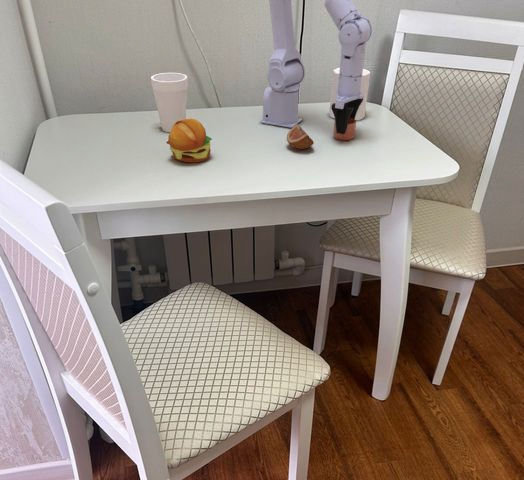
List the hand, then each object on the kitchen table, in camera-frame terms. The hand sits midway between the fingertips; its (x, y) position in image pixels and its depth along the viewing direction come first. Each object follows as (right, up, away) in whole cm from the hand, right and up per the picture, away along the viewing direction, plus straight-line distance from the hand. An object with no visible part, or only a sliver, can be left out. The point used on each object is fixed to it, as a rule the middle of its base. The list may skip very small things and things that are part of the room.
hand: (344, 129), depth 145 cm
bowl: (0, -1, +1) cm, 2 cm away
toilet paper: (+3, +10, +16) cm, 19 cm away
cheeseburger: (-39, -12, -11) cm, 43 cm away
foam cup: (-46, +2, +5) cm, 47 cm away
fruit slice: (-12, -7, -5) cm, 15 cm away
